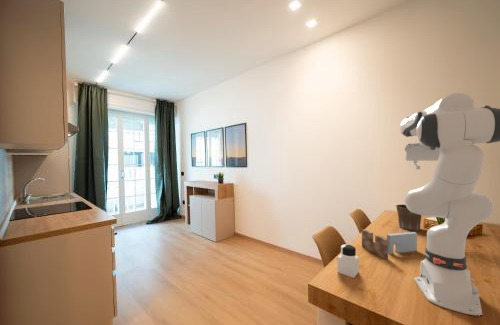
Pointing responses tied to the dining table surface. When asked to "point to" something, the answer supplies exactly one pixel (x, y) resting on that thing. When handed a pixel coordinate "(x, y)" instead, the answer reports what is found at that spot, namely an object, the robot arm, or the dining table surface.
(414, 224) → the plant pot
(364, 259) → the dining table surface
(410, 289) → the dining table surface
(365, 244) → the walnut board
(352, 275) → the medicine bottle
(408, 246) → the light blue notched panel
